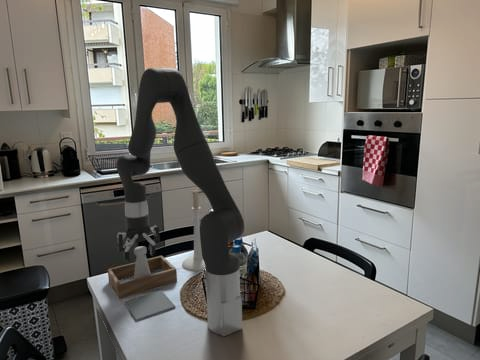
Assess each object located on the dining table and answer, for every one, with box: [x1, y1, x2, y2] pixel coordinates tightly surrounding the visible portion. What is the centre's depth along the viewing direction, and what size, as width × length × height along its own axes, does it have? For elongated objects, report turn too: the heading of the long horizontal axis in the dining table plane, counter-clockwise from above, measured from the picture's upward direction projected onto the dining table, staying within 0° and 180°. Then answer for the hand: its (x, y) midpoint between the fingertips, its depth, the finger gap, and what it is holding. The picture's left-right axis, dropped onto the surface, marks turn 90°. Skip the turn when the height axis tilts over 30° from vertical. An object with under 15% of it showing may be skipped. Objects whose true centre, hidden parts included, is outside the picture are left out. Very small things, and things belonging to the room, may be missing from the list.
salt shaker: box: [133, 245, 152, 279], centre depth 121 cm, size 6×6×13 cm
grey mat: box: [124, 289, 176, 322], centre depth 108 cm, size 12×12×1 cm
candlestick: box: [182, 189, 205, 272], centre depth 134 cm, size 13×13×30 cm
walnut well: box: [107, 255, 178, 300], centre depth 122 cm, size 14×20×5 cm
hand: (140, 257), depth 121 cm, fingers open, 8 cm apart
